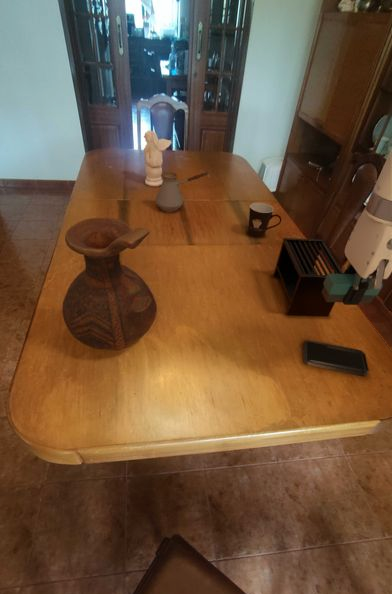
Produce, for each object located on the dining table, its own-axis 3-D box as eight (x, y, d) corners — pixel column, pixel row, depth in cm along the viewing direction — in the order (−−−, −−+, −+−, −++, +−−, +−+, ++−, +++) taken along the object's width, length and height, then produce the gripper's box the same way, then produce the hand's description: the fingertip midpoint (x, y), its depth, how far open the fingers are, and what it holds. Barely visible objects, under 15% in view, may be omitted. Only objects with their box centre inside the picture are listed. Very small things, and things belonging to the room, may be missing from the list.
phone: (369, 374, 75) (305, 361, 76) (367, 377, 75) (303, 364, 77) (364, 350, 80) (304, 338, 81) (362, 353, 81) (303, 341, 82)
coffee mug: (240, 232, 122) (245, 206, 115) (254, 226, 127) (260, 200, 119) (263, 244, 117) (270, 218, 110) (277, 238, 121) (285, 212, 114)
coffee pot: (153, 212, 129) (152, 172, 118) (157, 201, 137) (156, 162, 126) (205, 217, 129) (209, 177, 118) (206, 205, 137) (210, 167, 126)
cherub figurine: (145, 178, 154) (143, 124, 138) (170, 179, 156) (171, 126, 140) (144, 187, 146) (141, 131, 130) (171, 189, 147) (171, 133, 131)
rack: (308, 276, 104) (323, 239, 95) (328, 316, 90) (347, 278, 81) (273, 275, 103) (283, 237, 94) (287, 315, 89) (301, 276, 80)
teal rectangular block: (365, 292, 67) (375, 274, 63) (372, 303, 64) (383, 285, 61) (319, 291, 66) (327, 273, 63) (325, 302, 63) (333, 283, 60)
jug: (67, 368, 71) (24, 245, 50) (70, 307, 85) (37, 191, 64) (163, 355, 76) (162, 238, 54) (151, 300, 90) (146, 189, 68)
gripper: (442, 232, 46) (381, 324, 60) (389, 188, 58) (348, 274, 71) (394, 230, 46) (343, 324, 59) (350, 186, 57) (315, 273, 70)
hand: (346, 296), depth 65 cm, fingers closed on teal rectangular block, 3 cm apart
